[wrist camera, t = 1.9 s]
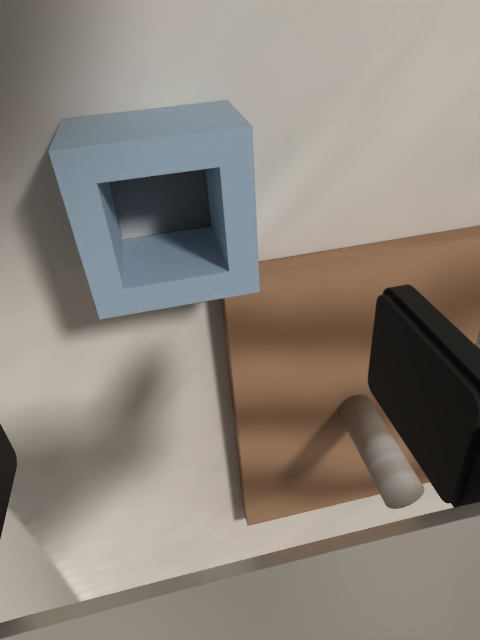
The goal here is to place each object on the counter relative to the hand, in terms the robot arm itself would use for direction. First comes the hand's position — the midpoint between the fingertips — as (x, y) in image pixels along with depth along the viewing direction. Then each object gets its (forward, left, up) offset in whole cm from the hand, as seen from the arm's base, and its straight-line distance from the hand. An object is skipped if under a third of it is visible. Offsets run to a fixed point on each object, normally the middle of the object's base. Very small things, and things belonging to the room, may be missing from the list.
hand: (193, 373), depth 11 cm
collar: (-1, 0, -10) cm, 10 cm away
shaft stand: (+13, +9, -10) cm, 19 cm away
